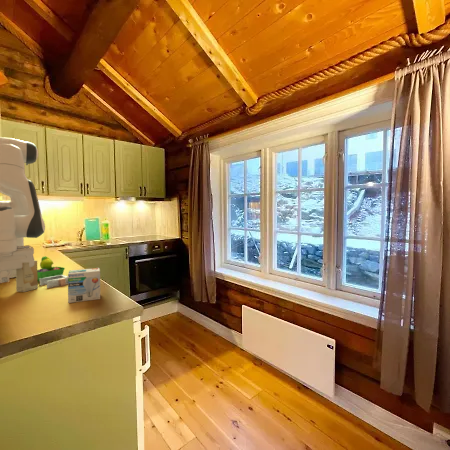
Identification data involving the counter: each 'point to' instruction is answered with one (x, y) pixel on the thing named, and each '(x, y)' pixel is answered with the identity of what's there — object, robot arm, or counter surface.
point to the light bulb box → (83, 285)
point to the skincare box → (26, 278)
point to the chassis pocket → (54, 281)
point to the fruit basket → (48, 269)
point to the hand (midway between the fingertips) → (4, 282)
